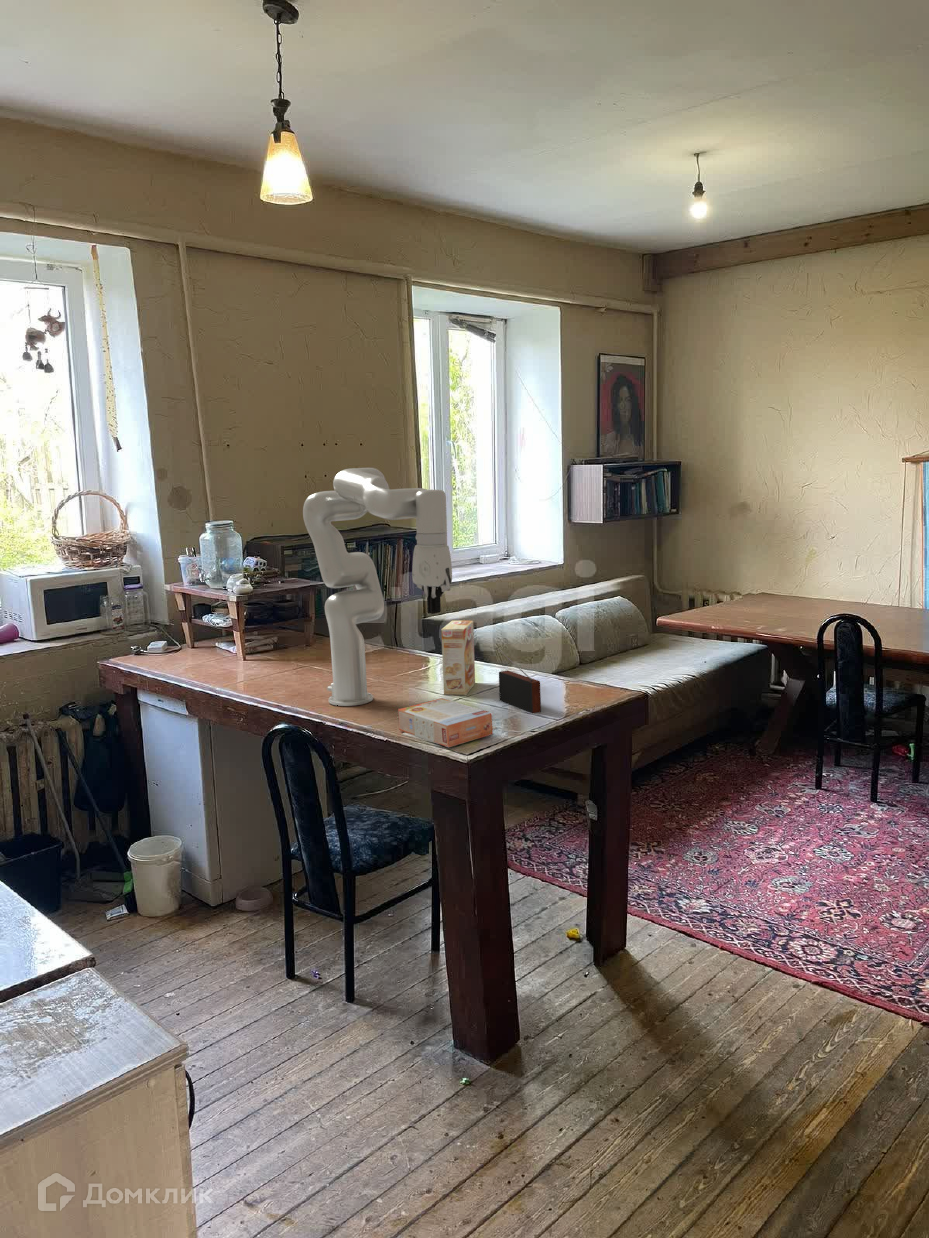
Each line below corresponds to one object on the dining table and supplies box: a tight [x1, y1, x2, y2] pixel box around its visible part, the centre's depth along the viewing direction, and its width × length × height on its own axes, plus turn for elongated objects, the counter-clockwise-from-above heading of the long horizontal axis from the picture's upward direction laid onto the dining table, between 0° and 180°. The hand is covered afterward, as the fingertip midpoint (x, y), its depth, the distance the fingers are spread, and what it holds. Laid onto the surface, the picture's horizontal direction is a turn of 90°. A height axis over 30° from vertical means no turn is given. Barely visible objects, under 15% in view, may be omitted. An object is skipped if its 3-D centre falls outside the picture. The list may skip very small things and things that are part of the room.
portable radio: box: [496, 647, 542, 714], centre depth 250 cm, size 19×3×15 cm, turn 30°
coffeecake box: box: [440, 619, 476, 696], centre depth 270 cm, size 15×7×20 cm, turn 168°
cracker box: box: [397, 697, 494, 748], centre depth 226 cm, size 14×6×21 cm
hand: (434, 612), depth 230 cm, fingers closed
